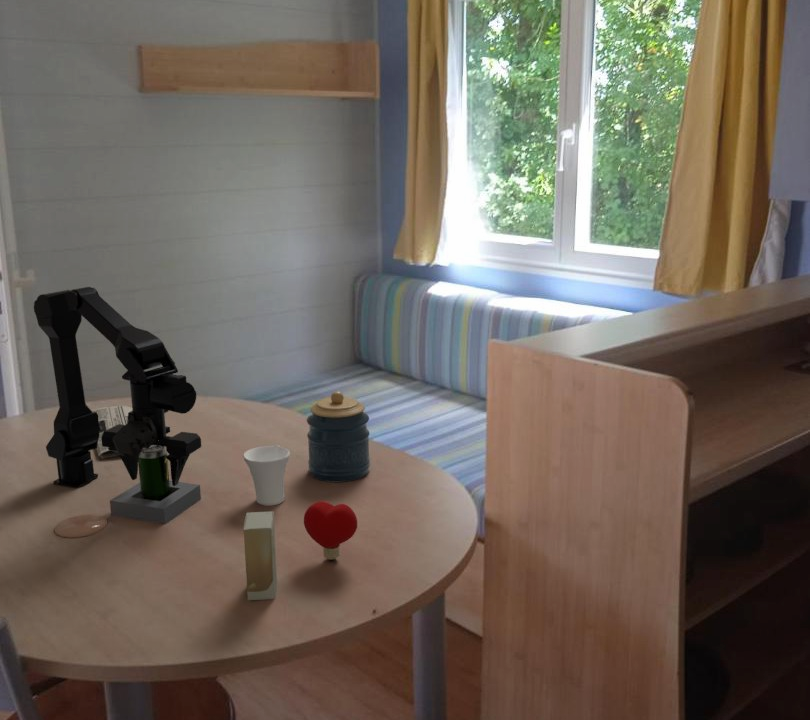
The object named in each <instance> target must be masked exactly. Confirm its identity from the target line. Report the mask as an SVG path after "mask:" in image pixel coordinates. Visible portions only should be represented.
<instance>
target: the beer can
mask: <svg viewBox="0 0 810 720" xmlns="http://www.w3.org/2000/svg"><path fill="white" fill-rule="evenodd" d="M167 455H168V452H167V451H166V447H165V446H157V445H151V446H150V447H149V448H143V449H142V451H141V453H140V454H138V474H139V483H140V487H141V498H142V499H148V500H154V501H162V500H163V499H165V498H166V497H168V496H169V495H170V483H169V481H170V472H169V464H168V463H169V462H168V461H169V460H168V459H167V458H166V456H167Z"/></svg>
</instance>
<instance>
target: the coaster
mask: <svg viewBox="0 0 810 720" xmlns="http://www.w3.org/2000/svg"><path fill="white" fill-rule="evenodd" d="M107 525H108V521H107V518H105V516H102V515H98V514H81V515H75V516H71V517H67V518H66V519H63V520H61V521H59V522H58V523H57V524H56V526H55V527H54V532H55V534H56V535H57V536H59V537H62V538H69V539H74V538H75V539H76V538H78V539H79V538H83V537H89V536H92V535H95V534H96V533H99V532H101V531H103V530H104V529H105V528H106V527H107Z"/></svg>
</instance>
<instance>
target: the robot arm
mask: <svg viewBox="0 0 810 720" xmlns="http://www.w3.org/2000/svg"><path fill="white" fill-rule="evenodd" d="M33 312H34V314H35V317H36V320H37V325H38V326H39V328H40V329H41V330H42V331H43V333H44V334H45V335H46V336H47V337H48V339H49V340H48V341H49V347H50V352H51V353H50V354H51V359H52V366H53V373H54V378H55V384H56V385H55V386H56V390H57V391H56V392H57V399H58V405H59V409H58V411H57V413H56V415H55V418H54V420H53V435H52V437H51V438H50V440H49V441H48V442H47V444H46V446H45V449H46V452H47V456H48V457H49V458H53V459H56V467H57V474H58V475H57V476H58V478H57V479H55V480H53V485H59V486H60V485H61V486H66V487H74V488H81V487H82V486H84V485H85V484H87V483H89V482H91V481H93V480H95V479H97V478H98V477H99V474H98V473H94V472H95V470H94V461H93V458H92V454H91V451H93V450H96V448H97V445H98V439H99V435H100V434H99V431H101V429H100V426H99V421H98V414H97V413H96V412H92V411H91V410H92V409H90V407H88V405H87V404H86V403H87V402H86V397H85V392H84V391H85V389H84V383H83V378H82V370H81V363H80V357H79V350H78V343H77V332H78V331H79V330H78V329H79V328H80V325H81V323H82V318H84V319H85V320H86V321H87V322H88V323H89V324H91V326H92V327H94V328H95V329H96V330H97V331H98V332H99V333H100V334H101V335H102V336H103V337H104V338H105V339H106V340H107V341H109V343H110V344H112V345H113V347H114V350H115V356H116V358H117V359H118V361H119V362H120V363H121V364H122V365H123V367H124V368H125V369H126V370H127V371H125V373H123V374H122V376H121V378H122V380H124V381H129V386H130V395H131V396H130V398H131V407H132V411H131V412H129V413H128V421H127V424H126V425H121V424H118V425H116V426H114V427H112V428H110V429H108V430H106V431H104V432H103V434H102V437H101V439H102V446H104V447H109V448H108V450H109V451H113V452H115V453H116V454H118V455H119V458H120V459H121V461H122V462H123V465H124V467H125V469H126V471H127V473H128V474H129V476H130V479H131V480H132V481H135V480H137V478H138V474H139V465H138V454H140V453H141V451H142V449H143V448H149V447H150V446H151V445H157V446H165V450H166V451H167V456H166V458H167V459H168V461H169V463H170V464H169V465H170V479H171V481H172V484H173V486H176V485H177V484H178V482H180V479H181V476H182V474H183V473H182V472H183V471H184V469H185V468H184V467H185V465H186V464H187V461H188V459H189V457H190V456H191V454H193V453H194V452H196V451H197V450H199V449H201V448H202V438H201V436H200V435H199V433H197V432H196V433H195V432H189V431H188V432H186V431H180V432H179V433H177V434H174V435H173V436H167V434H169V433H171V426H166V417H165V416H166V413H168V412H169V411H170V412H173V413H176V414H177V413H178V414H181V415H182V414H188V412H190V411H191V410H192V409H193V408H194V407H195V404H196V402H197V391H196V390H195V387H194V385H192V384H191V383H190V382H187V375H183V374H177V373H179V370H178V368H177V366H176V362H175V361H174V360H173V358H172V357H171V355H170V353H169V352H168V350H167V348H166V346H165V344H164V342H163V341H162V340H161V338H159V337H158V336H156V335H155V334H153V333H152V332H150V331H148V330H146V329H145V330H144V329H142V328H138V327H136V326H134V325H132V324H131V323H130V322H129V321H128V320H127V319H125V318H124V316H122V315H121V314H120V313H119V312H118V311H117V310H116V309H114V307H112V306H111V305H110V304H109V303H108V302H107V301H105V299H103V298H102V297H101V296H100V295H99V292H98V290H97V289H96V288H95V287H91V286H85V287H84V286H83V287H80V288H79V287H78V288H74V289H71V290H70V289H66V290H61V291H54V292H49V293H44V294H43V293H42V294H39V295H38V296H37V298H36V299H35V300H34V303H33ZM156 367H157V368H156Z"/></svg>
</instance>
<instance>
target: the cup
mask: <svg viewBox="0 0 810 720" xmlns="http://www.w3.org/2000/svg"><path fill="white" fill-rule="evenodd" d="M290 456H291V451H290V450H289V449H287V448H286V447H282V446H280V445H279V444H276V445H266V446H265V445H263V446H257V447H253V448H250V449H248V450H246V451H245V452H244V454H243V455H242V457H243V459H244V462H245V464H246V465H247V467H248V469H249V472H250V475H251V477H252V481H253V485H254V486H253V487H254V489H255V499H256V500H255V502H257V503H258V504H259V505H261V506H266V507H267V506H269V507H270V506H277V505H279V504H281V503H283V502H284V501H285V498H286V497H285V489H284V488H285V483H284V482H285V481H284V479H285V473H286V467H287V463H288V461H289V458H290Z"/></svg>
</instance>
